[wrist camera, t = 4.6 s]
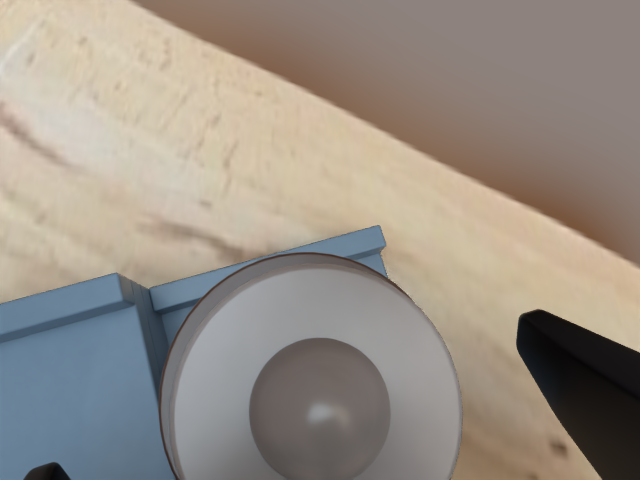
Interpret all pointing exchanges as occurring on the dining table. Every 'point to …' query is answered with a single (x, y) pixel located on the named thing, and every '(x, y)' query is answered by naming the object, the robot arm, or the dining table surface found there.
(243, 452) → the pepper mill
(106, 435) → the riser
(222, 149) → the dining table surface
